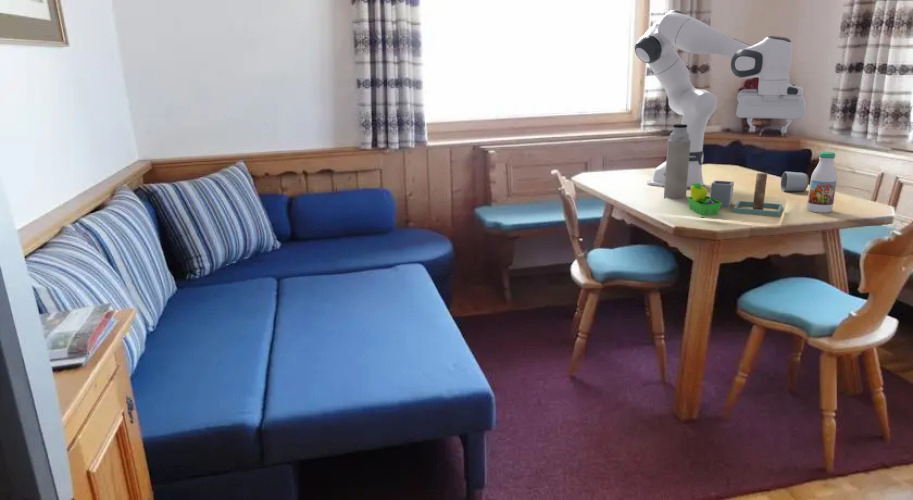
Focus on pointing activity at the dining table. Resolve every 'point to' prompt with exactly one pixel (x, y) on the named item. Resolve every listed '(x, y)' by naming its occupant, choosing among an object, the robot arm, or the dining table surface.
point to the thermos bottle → (677, 163)
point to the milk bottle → (822, 184)
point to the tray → (756, 211)
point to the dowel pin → (759, 191)
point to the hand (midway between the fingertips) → (767, 132)
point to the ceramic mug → (794, 181)
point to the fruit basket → (702, 201)
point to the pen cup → (722, 192)
